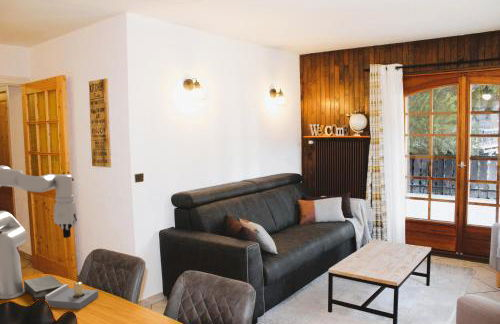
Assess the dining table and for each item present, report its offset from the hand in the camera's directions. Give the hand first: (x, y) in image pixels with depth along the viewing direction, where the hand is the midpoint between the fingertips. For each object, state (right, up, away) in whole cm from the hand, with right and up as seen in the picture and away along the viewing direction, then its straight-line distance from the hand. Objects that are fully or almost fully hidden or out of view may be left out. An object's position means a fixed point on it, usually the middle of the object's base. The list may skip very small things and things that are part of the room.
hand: (67, 237), depth 208 cm
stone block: (-13, -28, +4) cm, 31 cm away
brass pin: (+10, -29, -9) cm, 31 cm away
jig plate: (+6, -29, -8) cm, 30 cm away
